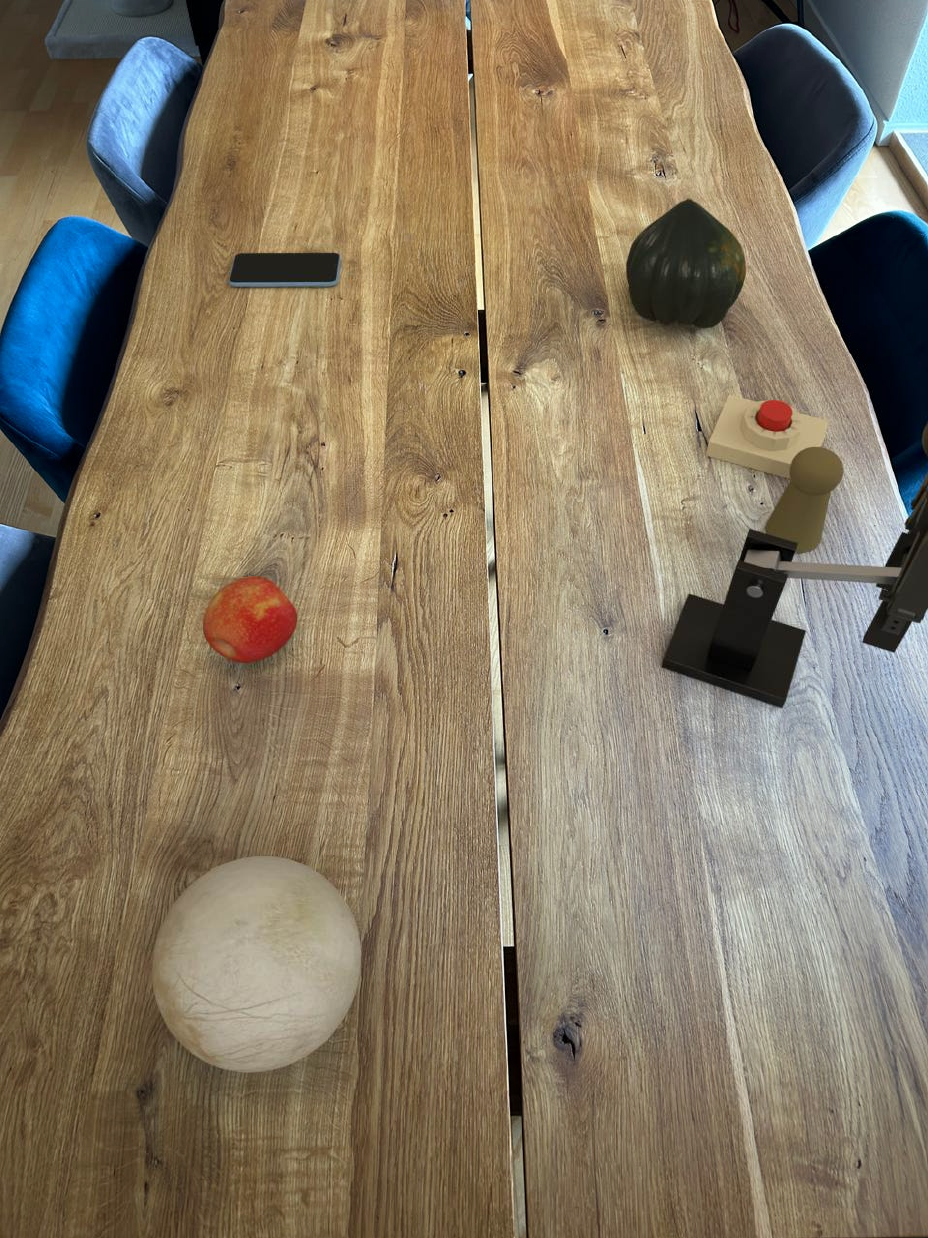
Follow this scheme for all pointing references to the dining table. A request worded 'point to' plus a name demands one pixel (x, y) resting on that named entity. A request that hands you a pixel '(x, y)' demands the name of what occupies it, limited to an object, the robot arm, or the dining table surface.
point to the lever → (825, 569)
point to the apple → (249, 620)
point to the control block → (762, 438)
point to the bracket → (741, 631)
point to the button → (774, 415)
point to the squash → (685, 268)
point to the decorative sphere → (256, 964)
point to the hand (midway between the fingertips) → (885, 615)
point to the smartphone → (285, 269)
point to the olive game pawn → (806, 498)
